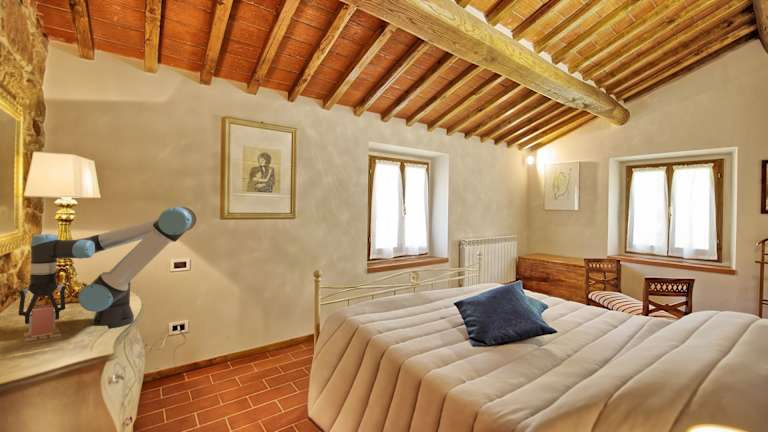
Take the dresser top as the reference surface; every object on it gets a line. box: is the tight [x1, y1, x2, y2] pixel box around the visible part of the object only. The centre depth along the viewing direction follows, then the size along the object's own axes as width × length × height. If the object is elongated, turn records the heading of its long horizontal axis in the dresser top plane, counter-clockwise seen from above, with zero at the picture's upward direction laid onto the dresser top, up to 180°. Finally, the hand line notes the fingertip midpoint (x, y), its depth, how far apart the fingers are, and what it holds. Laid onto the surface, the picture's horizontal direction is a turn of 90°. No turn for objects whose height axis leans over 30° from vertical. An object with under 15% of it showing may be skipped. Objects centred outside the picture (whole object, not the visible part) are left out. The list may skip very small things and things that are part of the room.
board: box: [23, 326, 63, 345], centre depth 138 cm, size 16×10×1 cm, turn 48°
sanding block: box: [31, 303, 55, 338], centre depth 140 cm, size 8×6×10 cm
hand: (42, 329), depth 140 cm, fingers closed on sanding block, 6 cm apart
